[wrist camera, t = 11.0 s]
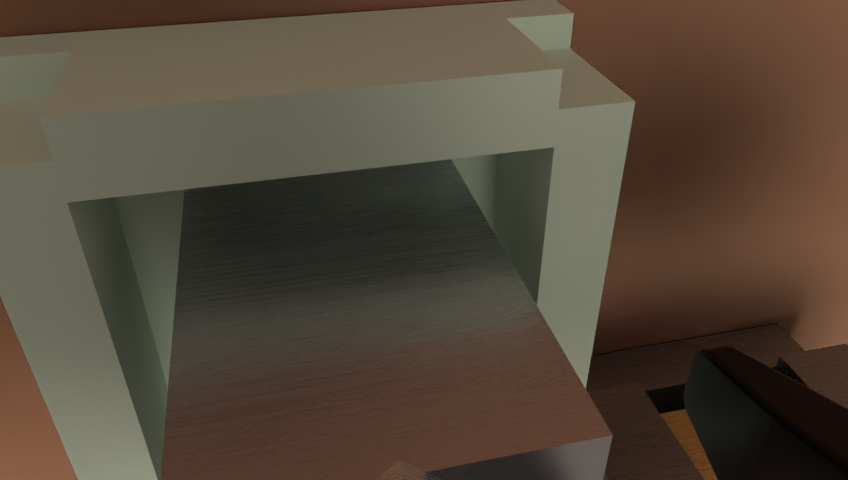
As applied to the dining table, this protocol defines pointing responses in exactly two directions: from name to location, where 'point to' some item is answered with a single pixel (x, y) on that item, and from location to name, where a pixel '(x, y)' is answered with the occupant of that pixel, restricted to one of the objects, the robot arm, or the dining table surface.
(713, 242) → the dining table surface
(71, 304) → the grey square frame
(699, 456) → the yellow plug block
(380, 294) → the grey block
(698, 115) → the dining table surface
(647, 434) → the socket block
